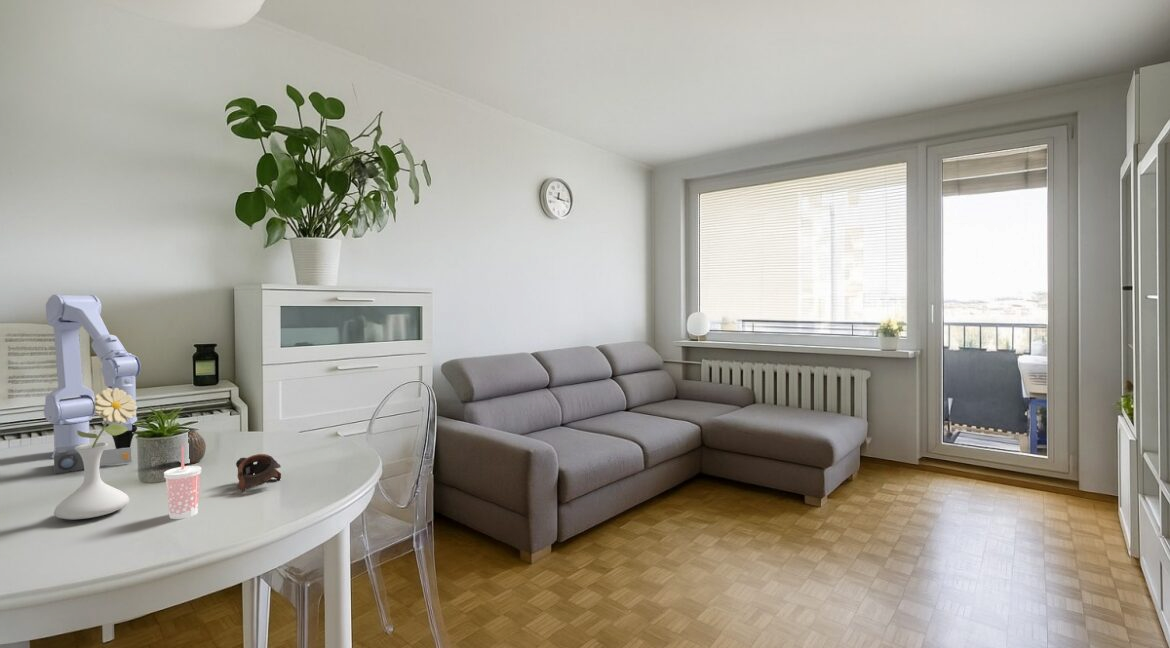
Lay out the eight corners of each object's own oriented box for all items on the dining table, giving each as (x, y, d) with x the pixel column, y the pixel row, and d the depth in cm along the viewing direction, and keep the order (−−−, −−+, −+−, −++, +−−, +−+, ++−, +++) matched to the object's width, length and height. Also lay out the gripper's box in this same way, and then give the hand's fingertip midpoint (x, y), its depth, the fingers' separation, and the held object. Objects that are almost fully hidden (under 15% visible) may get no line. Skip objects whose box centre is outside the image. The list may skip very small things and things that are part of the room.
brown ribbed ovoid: (212, 459, 150) (211, 426, 150) (191, 466, 144) (191, 432, 143) (188, 458, 151) (188, 426, 151) (167, 465, 144) (166, 432, 144)
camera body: (57, 464, 144) (56, 445, 144) (88, 460, 148) (87, 441, 148) (54, 475, 136) (53, 454, 135) (87, 470, 140) (86, 450, 139)
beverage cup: (180, 508, 115) (179, 441, 114) (209, 509, 114) (208, 441, 114) (156, 520, 108) (155, 449, 108) (187, 520, 108) (185, 449, 108)
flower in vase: (65, 530, 104) (61, 396, 103) (45, 517, 110) (41, 390, 109) (149, 508, 115) (146, 387, 114) (126, 497, 121) (123, 382, 120)
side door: (131, 461, 146) (131, 447, 146) (131, 462, 145) (130, 448, 145) (90, 466, 142) (89, 451, 142) (89, 467, 140) (88, 452, 140)
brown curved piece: (294, 481, 134) (287, 457, 129) (261, 511, 126) (253, 486, 122) (255, 465, 137) (247, 440, 132) (221, 492, 129) (211, 467, 125)
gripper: (98, 400, 148) (99, 451, 148) (105, 408, 138) (106, 462, 139) (132, 397, 153) (133, 446, 154) (141, 404, 143) (142, 457, 144)
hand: (123, 453), depth 146 cm, fingers closed
